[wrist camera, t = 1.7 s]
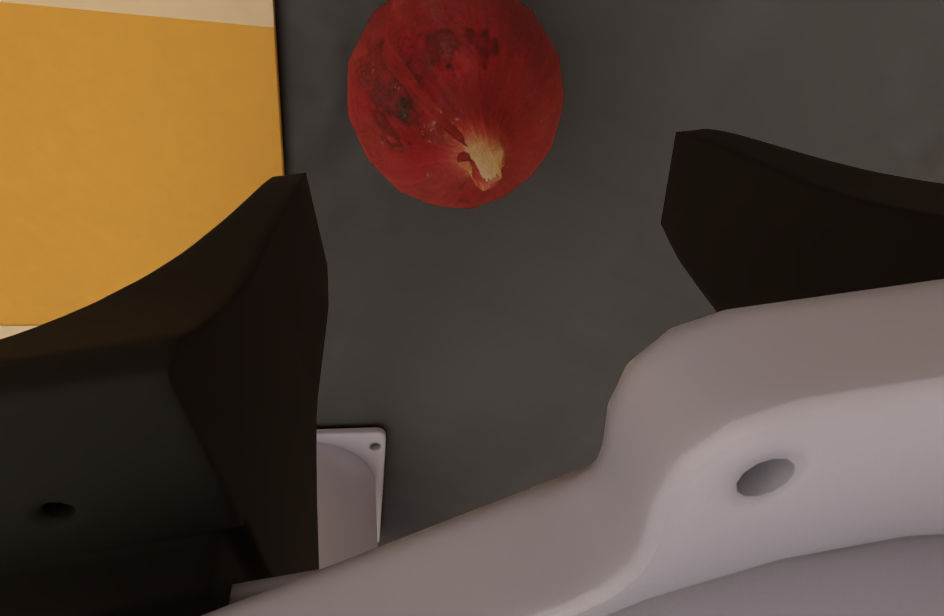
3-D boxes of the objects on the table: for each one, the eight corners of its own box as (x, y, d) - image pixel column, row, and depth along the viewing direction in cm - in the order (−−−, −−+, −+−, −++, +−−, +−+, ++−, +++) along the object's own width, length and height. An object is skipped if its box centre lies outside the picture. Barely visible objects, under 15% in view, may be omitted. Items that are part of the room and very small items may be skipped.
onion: (317, 94, 20) (302, 214, 13) (401, -88, 17) (432, -44, 11) (468, 172, 22) (515, 304, 16) (562, 24, 19) (663, 113, 13)
